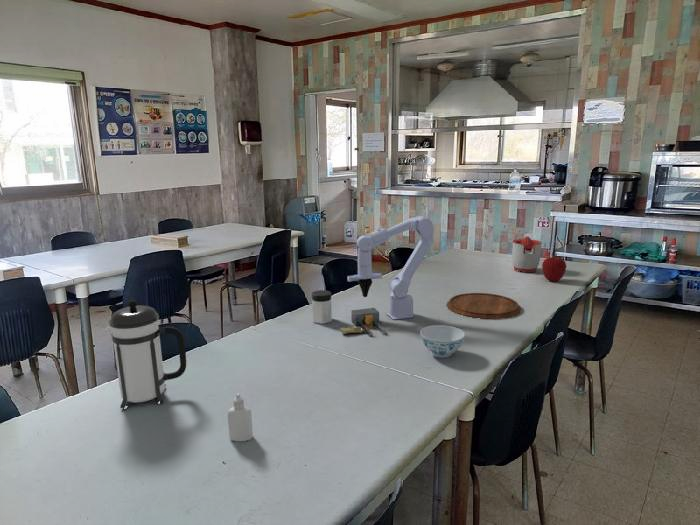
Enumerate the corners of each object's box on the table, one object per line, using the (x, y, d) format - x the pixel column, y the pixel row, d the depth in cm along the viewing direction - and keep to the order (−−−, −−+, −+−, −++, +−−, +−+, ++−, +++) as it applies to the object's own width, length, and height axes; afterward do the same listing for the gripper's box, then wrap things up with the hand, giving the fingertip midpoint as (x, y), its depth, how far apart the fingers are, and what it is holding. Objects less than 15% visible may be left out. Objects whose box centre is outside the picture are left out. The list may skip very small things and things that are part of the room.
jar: (317, 325, 198) (316, 297, 195) (308, 319, 204) (307, 292, 202) (336, 320, 203) (335, 293, 200) (326, 315, 209) (325, 288, 206)
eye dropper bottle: (239, 430, 125) (236, 387, 122) (255, 437, 122) (252, 393, 119) (226, 438, 121) (223, 395, 118) (242, 445, 118) (239, 401, 115)
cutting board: (439, 315, 208) (440, 309, 208) (453, 294, 237) (453, 289, 236) (518, 324, 196) (518, 318, 196) (522, 301, 225) (523, 295, 225)
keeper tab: (361, 329, 192) (362, 326, 192) (365, 332, 188) (365, 330, 188) (339, 330, 189) (340, 327, 189) (342, 333, 186) (342, 330, 185)
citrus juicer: (513, 274, 271) (515, 239, 266) (508, 266, 288) (510, 233, 283) (543, 275, 268) (545, 239, 264) (536, 267, 285) (539, 234, 280)
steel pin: (363, 317, 207) (363, 306, 205) (372, 326, 195) (372, 315, 194) (356, 318, 206) (356, 307, 205) (365, 327, 195) (365, 316, 193)
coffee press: (139, 418, 131) (126, 313, 124) (105, 402, 139) (90, 303, 133) (191, 391, 145) (181, 295, 139) (156, 378, 154) (146, 287, 147)
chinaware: (436, 341, 179) (437, 322, 177) (472, 353, 169) (473, 332, 167) (411, 354, 169) (411, 333, 167) (447, 367, 158) (448, 345, 157)
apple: (568, 283, 251) (571, 258, 247) (546, 284, 251) (548, 258, 248) (559, 277, 262) (561, 253, 259) (537, 278, 262) (539, 253, 259)
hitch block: (374, 319, 204) (374, 307, 203) (390, 334, 187) (390, 321, 186) (351, 321, 201) (351, 310, 200) (365, 337, 184) (365, 324, 183)
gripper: (377, 261, 206) (377, 292, 210) (345, 264, 202) (345, 295, 205) (383, 265, 200) (383, 296, 203) (350, 268, 196) (350, 300, 199)
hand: (364, 296), depth 204 cm, fingers closed
